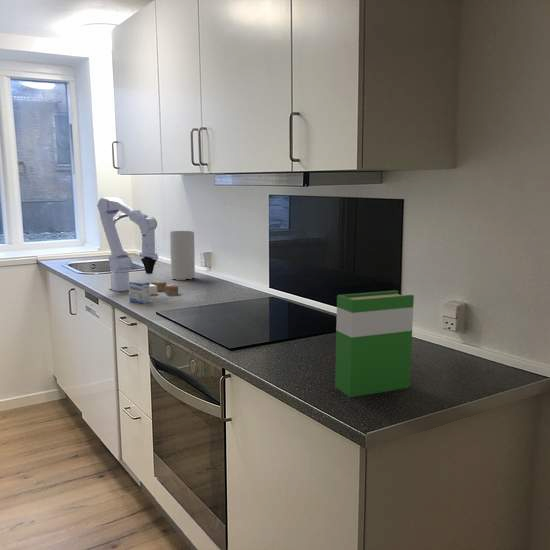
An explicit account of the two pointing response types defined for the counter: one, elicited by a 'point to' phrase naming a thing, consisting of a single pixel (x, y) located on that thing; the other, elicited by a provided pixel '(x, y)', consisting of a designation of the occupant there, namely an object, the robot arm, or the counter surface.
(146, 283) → the medicine box
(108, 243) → the robot arm
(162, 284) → the dotted block
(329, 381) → the counter surface
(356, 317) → the hardback book
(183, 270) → the cylinder vase
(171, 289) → the dotted block
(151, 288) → the plain block
